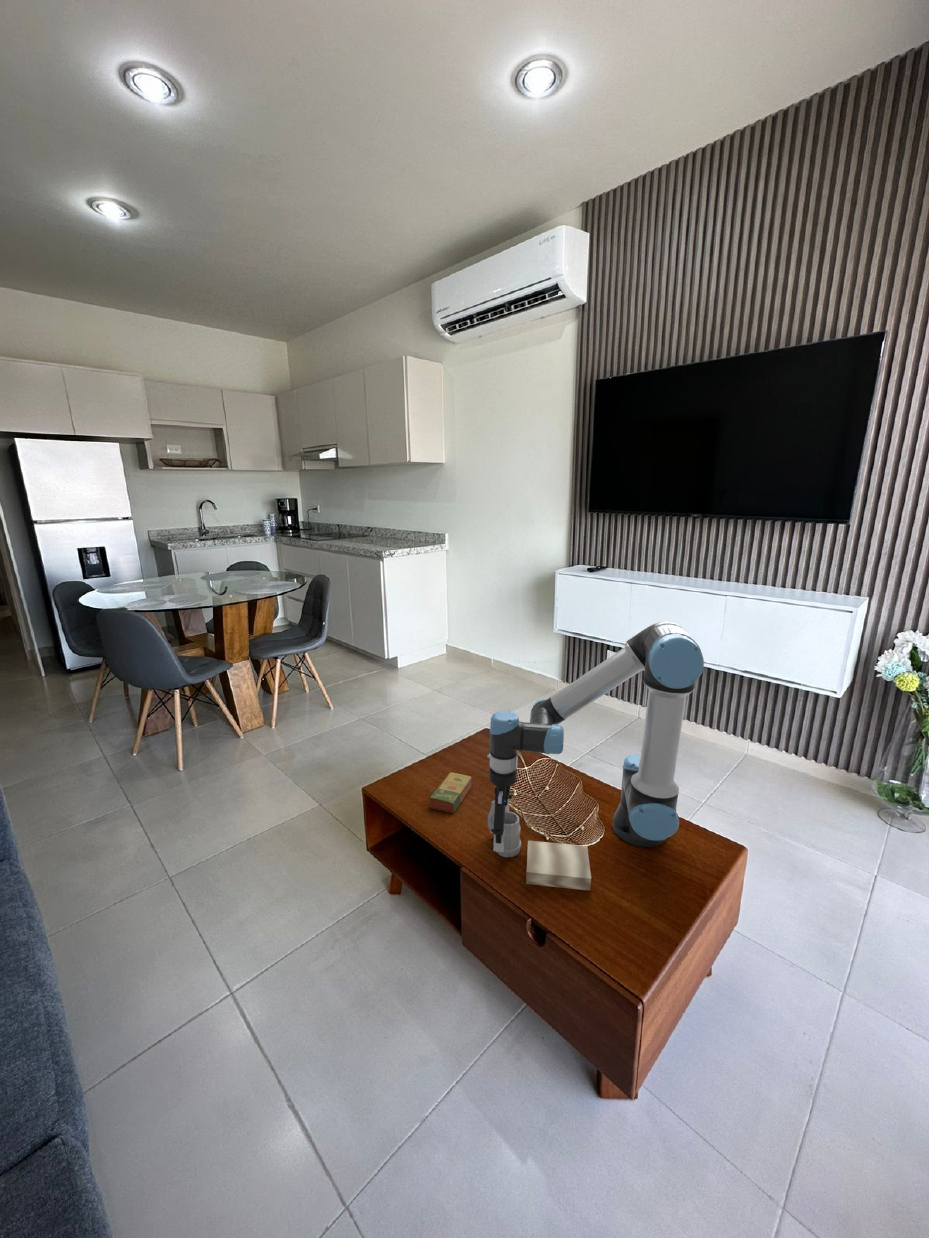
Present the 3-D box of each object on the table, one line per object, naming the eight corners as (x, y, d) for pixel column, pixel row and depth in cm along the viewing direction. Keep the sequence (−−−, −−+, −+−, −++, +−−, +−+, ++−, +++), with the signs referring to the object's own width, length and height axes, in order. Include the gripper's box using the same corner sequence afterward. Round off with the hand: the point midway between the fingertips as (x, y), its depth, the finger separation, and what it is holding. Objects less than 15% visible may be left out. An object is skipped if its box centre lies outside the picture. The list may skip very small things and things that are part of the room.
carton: (472, 787, 172) (472, 776, 171) (453, 814, 158) (453, 802, 157) (449, 782, 175) (449, 771, 174) (429, 808, 161) (429, 796, 160)
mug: (506, 862, 137) (507, 823, 134) (478, 839, 146) (478, 803, 143) (526, 850, 142) (527, 812, 139) (498, 828, 151) (498, 793, 148)
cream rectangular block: (586, 858, 139) (587, 846, 138) (590, 891, 128) (591, 878, 127) (527, 852, 141) (528, 840, 140) (526, 885, 130) (526, 871, 129)
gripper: (495, 743, 151) (493, 806, 156) (482, 791, 127) (481, 863, 132) (520, 746, 149) (518, 809, 155) (512, 795, 126) (510, 867, 131)
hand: (501, 834), depth 144 cm, fingers open, 13 cm apart
